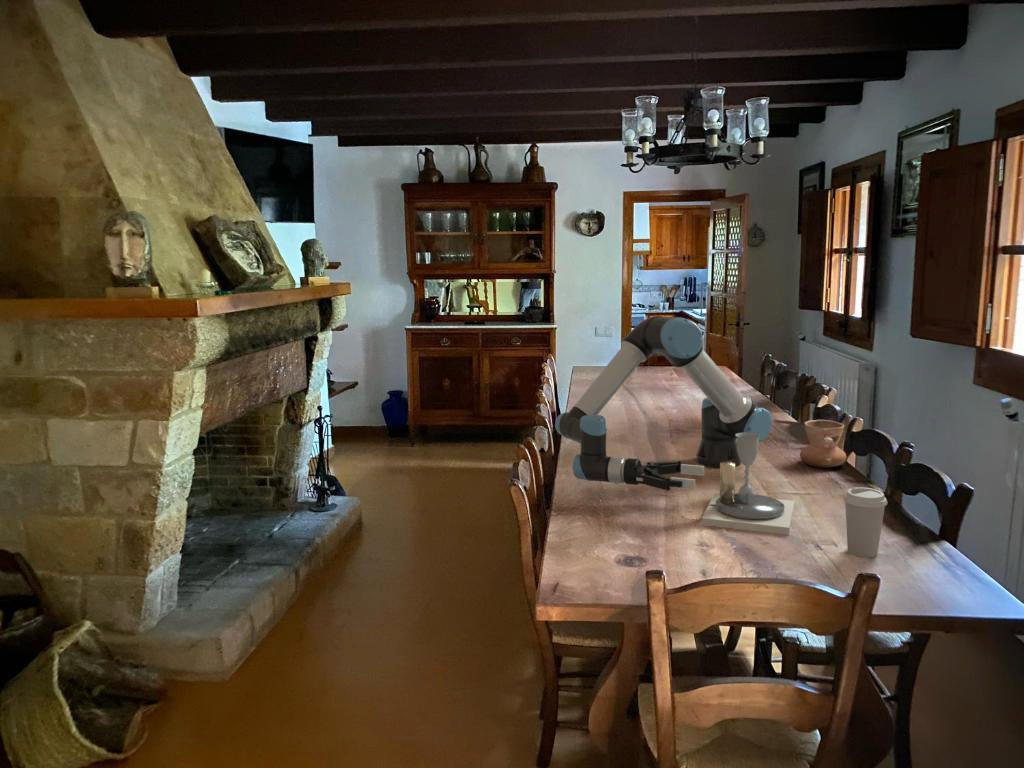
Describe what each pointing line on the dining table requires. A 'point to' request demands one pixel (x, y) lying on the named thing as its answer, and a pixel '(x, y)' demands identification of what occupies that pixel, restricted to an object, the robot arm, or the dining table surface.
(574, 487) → the dining table surface
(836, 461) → the ceramic jug
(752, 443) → the chalice
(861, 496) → the coffee cup
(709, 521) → the dial board
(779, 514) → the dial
